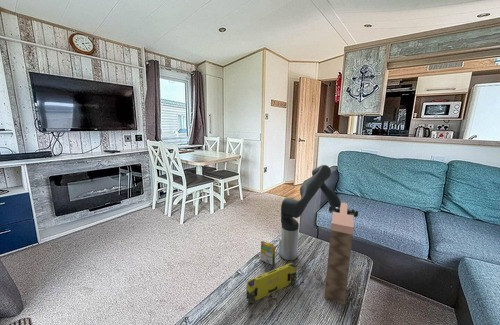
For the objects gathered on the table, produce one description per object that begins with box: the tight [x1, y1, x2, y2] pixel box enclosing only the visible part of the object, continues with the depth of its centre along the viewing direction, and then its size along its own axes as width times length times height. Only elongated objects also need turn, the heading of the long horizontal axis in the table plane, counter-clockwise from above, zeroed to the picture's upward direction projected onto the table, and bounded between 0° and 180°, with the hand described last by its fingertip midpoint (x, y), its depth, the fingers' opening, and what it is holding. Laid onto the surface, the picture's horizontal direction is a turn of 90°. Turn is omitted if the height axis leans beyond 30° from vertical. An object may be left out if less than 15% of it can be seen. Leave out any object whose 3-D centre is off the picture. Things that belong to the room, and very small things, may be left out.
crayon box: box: [259, 240, 276, 266], centre depth 113 cm, size 7×3×12 cm, turn 59°
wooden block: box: [323, 229, 354, 306], centre depth 91 cm, size 8×12×32 cm, turn 155°
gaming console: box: [246, 262, 297, 304], centre depth 92 cm, size 26×4×10 cm, turn 120°
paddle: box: [330, 202, 355, 236], centre depth 93 cm, size 8×26×3 cm, turn 155°
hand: (343, 209), depth 107 cm, fingers open, 8 cm apart
